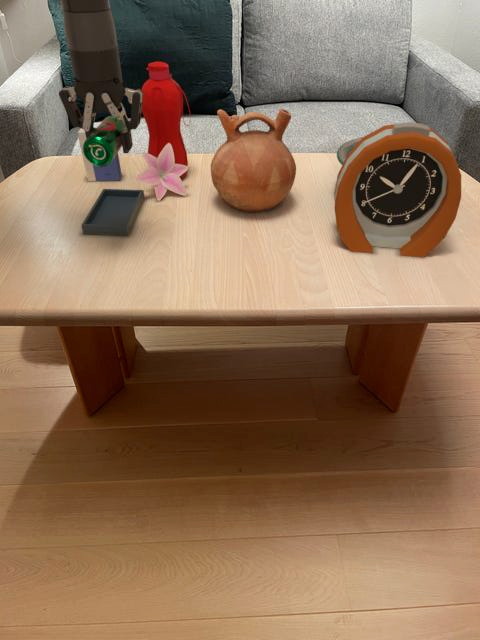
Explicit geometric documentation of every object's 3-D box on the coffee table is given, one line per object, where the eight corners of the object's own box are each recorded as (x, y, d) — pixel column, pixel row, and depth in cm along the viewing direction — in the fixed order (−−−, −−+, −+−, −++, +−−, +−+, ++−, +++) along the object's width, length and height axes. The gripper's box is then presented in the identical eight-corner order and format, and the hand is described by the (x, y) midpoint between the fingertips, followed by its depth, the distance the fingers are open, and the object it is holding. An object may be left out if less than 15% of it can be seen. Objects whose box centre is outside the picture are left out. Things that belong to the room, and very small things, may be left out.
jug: (211, 222, 99) (207, 125, 86) (212, 184, 113) (209, 95, 100) (297, 220, 100) (307, 125, 87) (288, 183, 113) (295, 95, 100)
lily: (130, 203, 107) (136, 176, 99) (136, 164, 112) (142, 135, 104) (181, 215, 111) (191, 189, 103) (185, 177, 116) (194, 149, 108)
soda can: (117, 149, 76) (134, 124, 85) (88, 131, 75) (109, 108, 84) (104, 173, 79) (123, 147, 88) (76, 156, 78) (98, 131, 87)
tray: (127, 235, 95) (126, 226, 94) (83, 234, 95) (81, 225, 94) (144, 198, 107) (143, 190, 106) (105, 197, 107) (103, 188, 106)
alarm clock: (329, 249, 92) (347, 132, 77) (329, 224, 99) (346, 112, 84) (446, 259, 89) (488, 140, 74) (437, 232, 97) (474, 119, 82)
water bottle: (192, 183, 113) (184, 69, 96) (147, 182, 113) (132, 68, 97) (196, 167, 120) (190, 58, 103) (153, 166, 120) (141, 57, 104)
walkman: (121, 176, 116) (113, 126, 108) (120, 180, 114) (111, 130, 106) (89, 176, 116) (79, 126, 108) (87, 181, 114) (76, 130, 106)
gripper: (143, 39, 75) (155, 144, 86) (56, 37, 76) (79, 142, 87) (132, 50, 70) (146, 161, 81) (38, 47, 70) (64, 158, 81)
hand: (111, 150), depth 84 cm, fingers closed on soda can, 5 cm apart
